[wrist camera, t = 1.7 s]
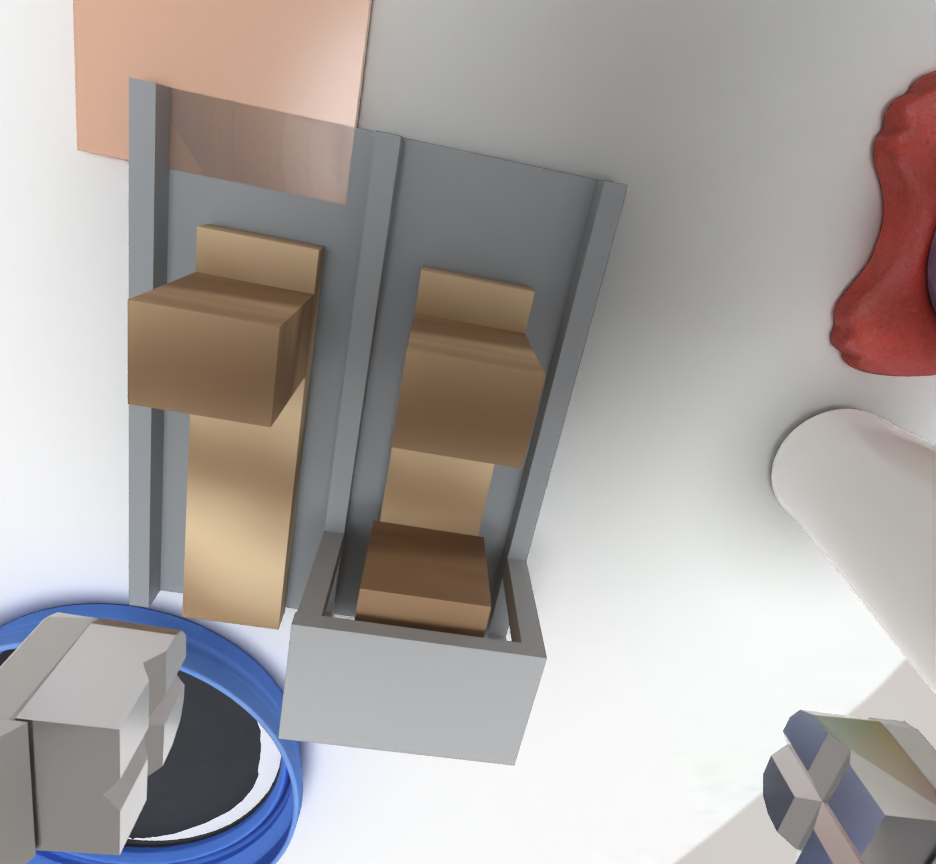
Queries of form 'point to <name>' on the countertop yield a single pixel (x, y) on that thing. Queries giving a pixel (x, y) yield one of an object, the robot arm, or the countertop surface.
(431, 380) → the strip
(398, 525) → the walnut block
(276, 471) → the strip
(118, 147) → the coaster
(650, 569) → the countertop surface
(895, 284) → the stacking bear
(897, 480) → the drinking glass
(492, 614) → the lane board
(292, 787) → the blue round shallow tray
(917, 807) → the robot arm
